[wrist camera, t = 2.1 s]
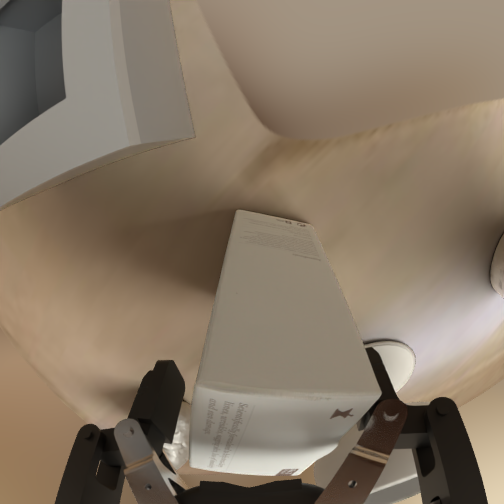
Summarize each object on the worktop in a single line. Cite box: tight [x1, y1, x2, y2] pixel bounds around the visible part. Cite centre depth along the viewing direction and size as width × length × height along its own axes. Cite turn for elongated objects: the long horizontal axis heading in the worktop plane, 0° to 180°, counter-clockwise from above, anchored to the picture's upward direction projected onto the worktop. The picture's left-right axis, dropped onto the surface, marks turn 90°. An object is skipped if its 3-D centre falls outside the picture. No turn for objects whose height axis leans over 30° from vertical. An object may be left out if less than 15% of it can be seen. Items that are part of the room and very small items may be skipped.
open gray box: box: [0, 0, 195, 211], centre depth 11 cm, size 14×17×10 cm
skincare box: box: [189, 209, 382, 476], centre depth 15 cm, size 8×6×15 cm
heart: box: [163, 401, 191, 470], centre depth 26 cm, size 10×10×12 cm
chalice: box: [314, 341, 430, 504], centre depth 20 cm, size 14×14×15 cm
